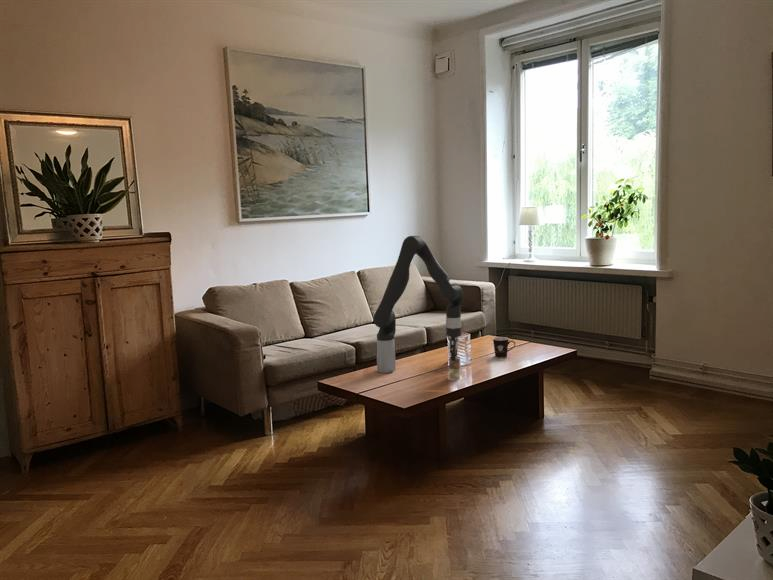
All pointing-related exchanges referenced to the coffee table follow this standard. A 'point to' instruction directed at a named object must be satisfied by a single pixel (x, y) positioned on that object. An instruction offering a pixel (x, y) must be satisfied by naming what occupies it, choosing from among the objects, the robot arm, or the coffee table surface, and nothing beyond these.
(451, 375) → the birch base cube
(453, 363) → the walnut cube
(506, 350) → the coffee mug
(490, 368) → the coffee table surface
